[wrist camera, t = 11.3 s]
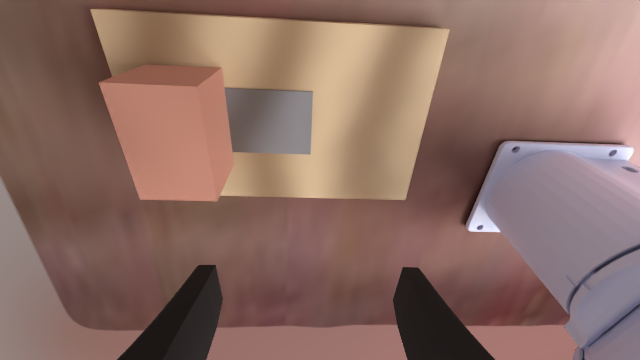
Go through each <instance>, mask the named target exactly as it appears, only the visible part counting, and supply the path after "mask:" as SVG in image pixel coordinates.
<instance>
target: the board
mask: <svg viewBox="0 0 640 360" xmlns="http://www.w3.org/2000/svg"><path fill="white" fill-rule="evenodd" d="M90 10H91V13H92V17H93V20H94V23H95V26H96V29H97V32H98V35H99V38H100V41H101V44H102V47H103V50H104V53H105V56H106V59H107V62H108V65H109V69H110V72H111V75H112V77H114V76H117V75H119V74H122V73H124V72H127V71H130V70H132V69H135V68H137V67H140V66H142V65H145V64H152V65H173V66H194V67H216V68H222V72H223V80H224V88H225V96H226V104H227V112H228V120H229V128H230V136H231V144H232V151H233V159H234V166H233V168H232V170H231V173H230V175H229V177H228V179H227V181H226V183H225V186H224V188H223V190H222V192H221V194H220V196H258V197H300V198H341V199H383V200H405V199H406V195H407V192H408V188H409V184H410V180H411V176H412V172H413V169H414V165H415V161H416V157H417V153H418V149H419V146H420V142H421V138H422V134H423V130H424V126H425V123H426V119H427V115H428V111H429V107H430V103H431V99H432V96H433V92H434V88H435V84H436V80H437V76H438V73H439V69H440V65H441V61H442V57H443V53H444V50H445V46H446V42H447V38H448V34H449V30H450V29H445V28H440V27H422V26H404V25H387V24H369V23H351V22H333V21H315V20H298V19H280V18H262V17H244V16H227V15H209V14H191V13H173V12H155V11H138V10H120V9H90Z"/></svg>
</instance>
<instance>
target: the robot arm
mask: <svg viewBox="0 0 640 360" xmlns="http://www.w3.org/2000/svg"><path fill="white" fill-rule="evenodd" d="M514 147H516V148H515V149H514V150H513V151H512V149H513V148H514ZM633 152H634V149H633V147H631V146H628V145H614V144H585V143H557V142H529V141H505V142H503V143H502V144H501V145H500V146H499V148H498V150H497V153H496V155H495V158H494V160H493V162H492V165H491V167H490V169H489V172H488V174H487V176H486V179H485V181H484V183H483V186H482V188H481V190H480V193H479V195H478V197H477V200H476V202H475V204H474V207H473V209H472V212H471V214H470V216H469V219H468V221H467V223H466V228H467V229H468V230H469V231H472V232H501V233H502V234H503V235H504V236H505V238H506V239H507V240H508V241H509V242H510V244H511V245H512V246H513V247H514V249H515V250H516V251H517V252H518V253H519V255H520V256H521V257H522V258H523V259H524V261H525V262H526V263H527V264H528V266H529V267H530V268H531V269H532V270H533V272H534V273H535V274H536V275H537V276H538V278H539V279H540V280H541V281H542V282H543V284H544V285H545V286H546V287H547V289H548V290H549V291H550V292H551V293H552V295H553V296H554V297H555V298H556V299H557V301H558V302H559V303H560V304H561V306H562V307H563V308H564V309H565V310H566V312H567V313H568V314H569V315H570V320H569V321H568V323H567V324H566V325H565V326H564V328H565V329H566V330H567V332H568V333H569V334H570V335H571V337H572V338H573V339H574V341H576V343H577V344H578V347H577V348H576V349H575V352H574V355H573V360H640V167H638V166H636V165H634V164H632V163H630V162H628V159H629V158H630V157H631V155H632V154H633ZM479 225H480V226H479ZM222 300H223V298H222V293H221V289H220V284H219V279H218V275H217V270H216V265H199V266H197V267H196V269H195V270H194V271H193V273H192V274H191V275H190V276H189V278H188V279H187V280H186V282H185V283H184V284H183V285H182V287H181V288H180V289H179V291H178V292H177V293H176V294H175V295H174V297H173V298H172V299H171V300H170V302H169V303H168V304H167V305H166V306H165V308H164V309H163V310H162V311H161V312H160V313H159V315H158V316H157V317H156V318H155V319H154V320H153V322H152V323H151V324H150V325H149V326H148V327H147V328H146V329H145V330H144V332H143V333H142V334H141V335H140V336H139V337H138V338H137V339H136V340H135V341H134V342H133V344H132V345H131V346H130V347H129V348H128V349H127V350H126V351H125V352H124V353H123V354H122V355H121V356H120V357H119V358H118V359H117V360H206V358H207V355H208V353H209V350H210V346H211V343H212V340H213V337H214V334H215V331H216V328H217V324H218V319H219V315H220V310H221V305H222ZM393 303H394V309H395V315H396V320H397V325H398V329H399V332H400V336H401V339H402V342H403V346H404V349H405V353H406V356H407V359H408V360H495V359H494V358H493V357H492V356H491V355H490V354H489V353H488V352H487V351H486V349H485V348H484V347H483V346H482V345H481V344H480V343H479V342H478V341H477V339H476V338H475V337H474V336H473V335H472V334H471V333H470V332H469V330H468V329H467V328H466V327H465V326H464V325H463V323H462V322H461V321H460V320H459V319H458V317H457V316H456V315H455V314H454V313H453V311H452V310H451V309H450V308H449V306H448V305H447V304H446V303H445V301H444V300H443V299H442V298H441V296H440V295H439V294H438V293H437V291H436V290H435V289H434V287H433V286H432V285H431V283H430V282H429V281H428V279H427V278H426V277H425V275H424V274H423V273H422V272H421V270H420V269H419V268H412V267H403V268H402V272H401V275H400V278H399V282H398V285H397V288H396V292H395V295H394V298H393Z"/></svg>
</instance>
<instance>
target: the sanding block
mask: <svg viewBox="0 0 640 360" xmlns="http://www.w3.org/2000/svg"><path fill="white" fill-rule="evenodd" d="M99 85H100V88H101V91H102V94H103V96H104V99H105V102H106V105H107V108H108V111H109V113H110V116H111V119H112V122H113V125H114V127H115V130H116V133H117V136H118V139H119V142H120V144H121V147H122V150H123V153H124V156H125V158H126V161H127V164H128V167H129V170H130V173H131V175H132V178H133V181H134V184H135V187H136V189H137V192H138V195H139V198H140V199H142V200H186V201H218V198H219V196H220V194H221V192H222V190H223V188H224V186H225V183H226V181H227V179H228V177H229V175H230V173H231V170H232V168H233V166H234V159H233V151H232V144H231V136H230V128H229V120H228V112H227V104H226V96H225V88H224V80H223V72H222V68H216V67H194V66H173V65H152V64H145V65H142V66H140V67H137V68H135V69H132V70H130V71H127V72H124V73H122V74H119V75H117V76H114V77H111V78H109V79H106V80H104V81H101V82H99Z"/></svg>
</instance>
